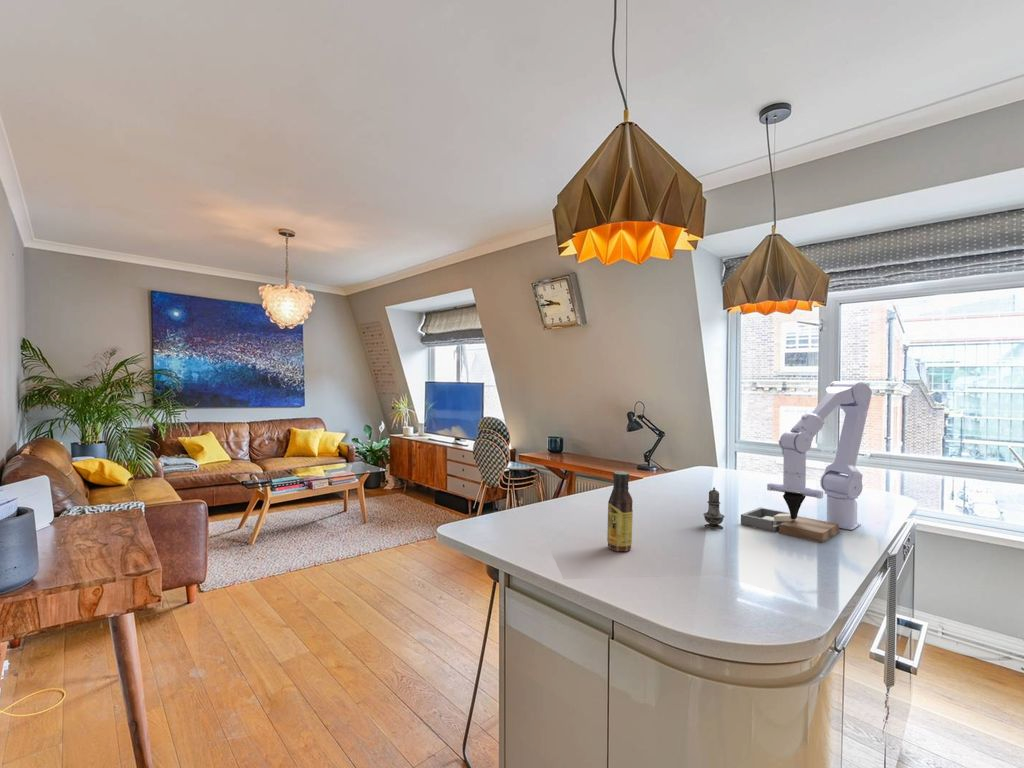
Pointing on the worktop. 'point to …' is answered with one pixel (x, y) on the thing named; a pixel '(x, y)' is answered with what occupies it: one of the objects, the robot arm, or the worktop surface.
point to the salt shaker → (713, 511)
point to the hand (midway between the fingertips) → (793, 518)
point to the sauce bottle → (620, 514)
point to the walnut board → (809, 529)
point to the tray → (761, 519)
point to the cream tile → (783, 517)
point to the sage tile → (772, 519)
